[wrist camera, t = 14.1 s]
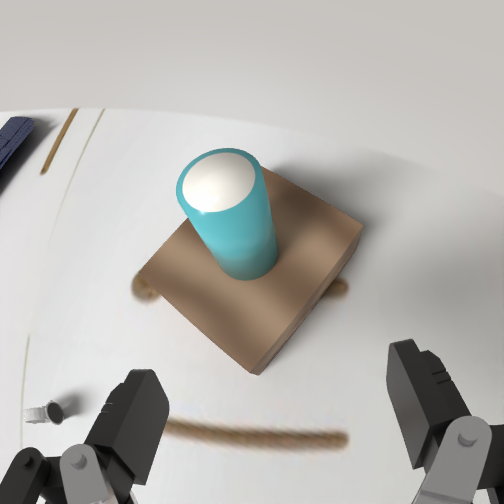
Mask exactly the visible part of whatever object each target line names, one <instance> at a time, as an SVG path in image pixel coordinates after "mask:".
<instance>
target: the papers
mask: <svg viewBox="0 0 504 504" xmlns="http://www.w3.org/2000/svg"><path fill="white" fill-rule="evenodd" d="M33 123H34V121H32V120H31V118H27V117H11V118H10V119H9V120H8V121H7V122H6V124H5V125H4V126H3V127H2V128H1V130H0V169H1V167H2V166H3V165H4V163H5V162H6V161H7V160H8V158H9V157H10V156H11V154H12V153H13V152H14V151H15V149H16V148H17V147H18V146H19V145H20V143H21V142H22V141H23V140H24V139H25V137H26V136H27V135H28V134H29V133H30V132H31V131H32V129H33V128H34V127H35V126H32V124H33Z"/></svg>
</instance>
